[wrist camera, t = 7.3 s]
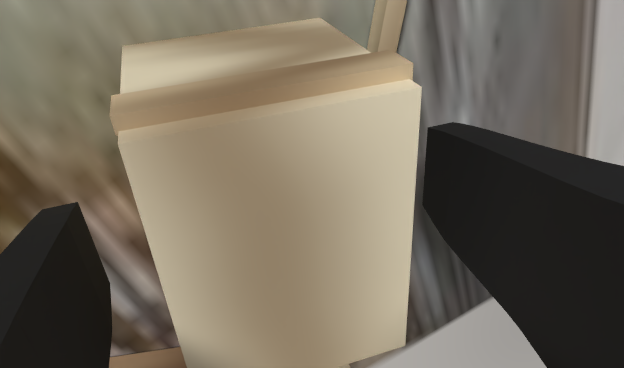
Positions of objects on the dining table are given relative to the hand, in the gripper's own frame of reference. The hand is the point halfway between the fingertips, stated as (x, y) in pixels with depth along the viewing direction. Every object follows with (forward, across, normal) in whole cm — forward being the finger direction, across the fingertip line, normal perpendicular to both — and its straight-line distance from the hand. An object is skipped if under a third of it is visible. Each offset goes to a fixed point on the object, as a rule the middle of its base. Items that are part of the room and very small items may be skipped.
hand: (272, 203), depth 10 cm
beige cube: (+3, 0, 0) cm, 3 cm away
